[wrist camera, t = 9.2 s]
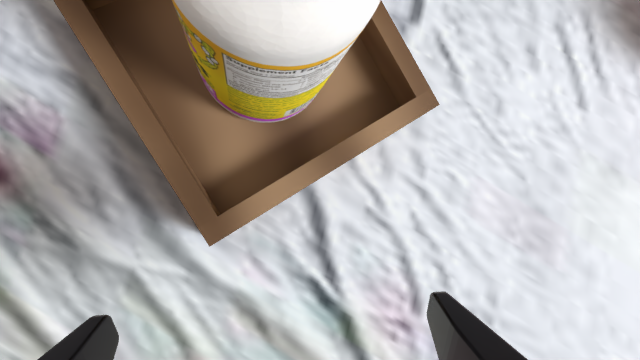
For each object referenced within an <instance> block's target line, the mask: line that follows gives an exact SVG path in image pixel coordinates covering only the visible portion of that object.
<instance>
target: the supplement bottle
mask: <svg viewBox="0 0 640 360" xmlns="http://www.w3.org/2000/svg"><path fill="white" fill-rule="evenodd" d="M172 2H173V5H174V7H175V10H176V12H177V15H178V18H179V20H180V23H181V25H182V28H183V31H184V34H185V36H186V39H187V41H188V44H189V47H190V50H191V53H192V55H193V58H194V60H195V63H196V65H197V68H198V71H199V73H200V76H201V78H202V80H203V82H204V84H205V86H206V88H207V89H208V91H209V92H210V94H211V95H212V96H213V98H214V99H215V100H216V101H217V102H218V103H219V104H220V105H221V106H222V107H223V108H225V109H226V110H228V111H229V112H230V113H232V114H234V115H236V116H238V117H240V118H243V119H246V120H249V121H253V122H278V121H282V120H285V119H288V118H290V117H293V116H295V115H296V114H298V113H299V112H301V111H302V110H303V109H305V108H306V107H307V106H308V105H309V104H310V103H311V102H312V101H313V99H314V98H315V97H316V95H317V94H318V93H319V91H320V90H321V88H322V87H323V86H324V84H325V83H326V81H327V80H328V78H329V77H330V76H331V74H332V73H333V71H334V70H335V68H336V67H337V65H338V64H339V63H340V61H341V60H342V58H343V57H344V55H345V54H346V53H347V51H348V50H349V48H350V47H351V46H352V44H353V43H354V42H355V40H356V39H357V38H358V36H359V35H360V33H361V32H362V31H363V29H364V28H365V26H366V25H367V23H368V22H369V20H370V19H371V17H372V16H373V14H374V12H375V11H376V9H377V7H378V5H379V3H380V0H172Z"/></svg>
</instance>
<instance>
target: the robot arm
mask: <svg viewBox="0 0 640 360" xmlns="http://www.w3.org/2000/svg"><path fill="white" fill-rule="evenodd" d="M427 319H428V323H429V326H430V330H431V333H432V337H433V340H434V344H435V347H436V351H437V354H438V358H439V360H527V359H526V358H525V357H524V356H523V355H521V354H520V353H519V352H518V351H517V350H515V349H514V348H513V347H512V346H511V345H509V344H508V343H507V342H506V341H505V340H503V339H502V338H501V337H500V336H499V335H497V334H496V333H495V332H494V331H493V330H491V329H490V328H489V327H488V326H487V325H485V324H484V323H483V322H482V321H481V320H479V319H478V318H477V317H476V316H475V315H473V314H472V313H471V312H470V311H469V310H467V309H466V308H465V307H464V306H462V305H461V304H460V303H459V302H458V301H456V300H455V299H454V298H453V297H452V296H450V295H449V294H448V293H446V292H433V293H431V295H430V299H429V304H428V309H427ZM118 341H119V335H118V332H117V330H116V327H115V325H114V323H113V321H112V318H111V317H110V316H109V315H96V316H92V317H90V318H89V319H88V320H86V321H85V322H84V323H83V324H81V325H80V326H79V327H78V328H76V329H75V330H74V331H73V332H71V333H70V334H69V335H68V336H66V337H65V338H64V339H63V340H61V341H60V342H59V343H58V344H56V345H55V346H54V347H53V348H51V349H50V350H49V351H48V352H46V353H45V354H44V355H43V356H41V357H40V358H39V359H38V360H113V359H114V355H115V352H116V349H117V346H118Z"/></svg>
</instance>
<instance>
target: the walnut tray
mask: <svg viewBox="0 0 640 360" xmlns="http://www.w3.org/2000/svg"><path fill="white" fill-rule="evenodd" d="M54 2H55V3H56V5H57V7H58V8H59V10H60V11H61V13H62V15H63V16H64V18H65V19H66V21H67V22H68V24H69V26H70V27H71V29H72V30H73V32H74V33H75V35H76V37H77V38H78V40H79V41H80V43H81V45H82V46H83V48H84V49H85V51H86V52H87V54H88V56H89V57H90V59H91V60H92V62H93V63H94V65H95V67H96V68H97V70H98V71H99V73H100V74H101V76H102V78H103V79H104V81H105V82H106V84H107V86H108V87H109V89H110V90H111V92H112V93H113V95H114V97H115V98H116V100H117V101H118V103H119V104H120V106H121V108H122V109H123V111H124V112H125V114H126V116H127V117H128V119H129V120H130V122H131V123H132V125H133V127H134V128H135V130H136V131H137V133H138V134H139V136H140V138H141V139H142V141H143V142H144V144H145V145H146V147H147V149H148V150H149V152H150V153H151V155H152V157H153V158H154V160H155V161H156V163H157V164H158V166H159V168H160V169H161V171H162V172H163V174H164V175H165V177H166V179H167V180H168V182H169V183H170V185H171V187H172V188H173V190H174V191H175V193H176V194H177V196H178V198H179V199H180V201H181V202H182V204H183V205H184V207H185V209H186V210H187V212H188V213H189V215H190V216H191V218H192V220H193V221H194V223H195V224H196V226H197V228H198V229H199V231H200V232H201V234H202V235H203V237H204V239H205V240H206V242H207V243H208V245H209V246H211V245H213V244H215V243H216V242H218V241H219V240H221V239H223V238H224V237H226V236H228V235H229V234H231V233H232V232H234V231H236V230H237V229H239V228H240V227H242V226H244V225H245V224H247V223H249V222H250V221H252V220H253V219H255V218H257V217H258V216H260V215H262V214H263V213H265V212H266V211H268V210H270V209H271V208H273V207H275V206H276V205H278V204H279V203H281V202H283V201H284V200H286V199H287V198H289V197H291V196H292V195H294V194H296V193H297V192H299V191H300V190H302V189H304V188H305V187H307V186H309V185H310V184H312V183H313V182H315V181H317V180H318V179H320V178H321V177H323V176H325V175H326V174H328V173H330V172H331V171H333V170H334V169H336V168H338V167H339V166H341V165H343V164H344V163H346V162H347V161H349V160H351V159H352V158H354V157H355V156H357V155H359V154H360V153H362V152H364V151H365V150H367V149H368V148H370V147H372V146H373V145H375V144H377V143H378V142H380V141H381V140H383V139H385V138H386V137H388V136H390V135H391V134H393V133H394V132H396V131H398V130H399V129H401V128H402V127H404V126H406V125H407V124H409V123H411V122H412V121H414V120H415V119H417V118H419V117H420V116H422V115H424V114H425V113H427V112H428V111H430V110H432V109H433V108H435V107H436V106H438V105H439V103H438V101H437V99H436V97H435V96H434V94H433V92H432V90H431V88H430V87H429V85H428V83H427V81H426V80H425V78H424V76H423V74H422V72H421V71H420V69H419V67H418V65H417V64H416V62H415V60H414V58H413V56H412V55H411V53H410V51H409V49H408V48H407V46H406V44H405V42H404V40H403V39H402V37H401V35H400V33H399V32H398V30H397V28H396V26H395V24H394V23H393V21H392V19H391V17H390V16H389V14H388V12H387V10H386V8H385V7H384V5H383V3H382V1H381V0H380V3H379V5H378V7H377V9H376V11H375V12H374V14H373V16H372V17H371V19H370V20H369V22H368V23H367V25H366V26H365V28H364V29H363V31H362V32H361V33H360V35H359V36H358V38H357V39H356V40H355V42H354V43H353V44H352V46H351V47H350V48H349V50H348V51H347V53H346V54H345V55H344V57H343V58H342V60H341V61H340V63H339V64H338V65H337V67H336V68H335V70H334V71H333V73H332V74H331V76H330V77H329V78H328V80H327V81H326V83H325V84H324V86H323V87H322V88H321V90H320V91H319V93H318V94H317V95H316V97H315V98H314V99H313V101H312V102H311V103H310V104H309V105H308V106H307V107H306V108H305V109H303V110H302V111H301V112H299V113H298V114H296V115H295V116H293V117H290V118H288V119H285V120H282V121H278V122H253V121H249V120H246V119H243V118H240V117H238V116H236V115H234V114H232V113H230V112H229V111H228V110H226V109H225V108H223V107H222V106H221V105H220V104H219V103H218V102H217V101H216V100H215V99H214V98H213V96H212V95H211V94H210V92H209V91H208V89H207V88H206V86H205V84H204V82H203V80H202V78H201V76H200V73H199V71H198V68H197V65H196V63H195V60H194V58H193V55H192V53H191V50H190V47H189V44H188V41H187V39H186V36H185V34H184V31H183V28H182V25H181V23H180V20H179V18H178V15H177V12H176V10H175V7H174V5H173V2H172V0H54Z"/></svg>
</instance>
